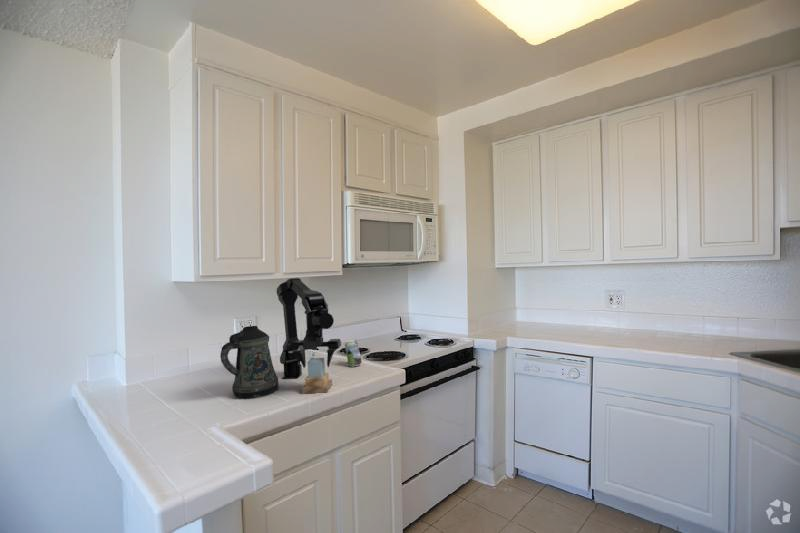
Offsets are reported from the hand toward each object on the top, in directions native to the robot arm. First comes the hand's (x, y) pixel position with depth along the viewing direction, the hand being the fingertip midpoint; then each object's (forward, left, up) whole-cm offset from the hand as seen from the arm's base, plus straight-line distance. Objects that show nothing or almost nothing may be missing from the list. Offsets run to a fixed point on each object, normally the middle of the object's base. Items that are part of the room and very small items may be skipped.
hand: (316, 367), depth 144 cm
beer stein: (-24, -2, -9) cm, 26 cm away
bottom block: (0, 0, -9) cm, 9 cm away
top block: (0, -1, -6) cm, 6 cm away
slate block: (0, 0, -3) cm, 3 cm away
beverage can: (+8, +32, -9) cm, 34 cm away
